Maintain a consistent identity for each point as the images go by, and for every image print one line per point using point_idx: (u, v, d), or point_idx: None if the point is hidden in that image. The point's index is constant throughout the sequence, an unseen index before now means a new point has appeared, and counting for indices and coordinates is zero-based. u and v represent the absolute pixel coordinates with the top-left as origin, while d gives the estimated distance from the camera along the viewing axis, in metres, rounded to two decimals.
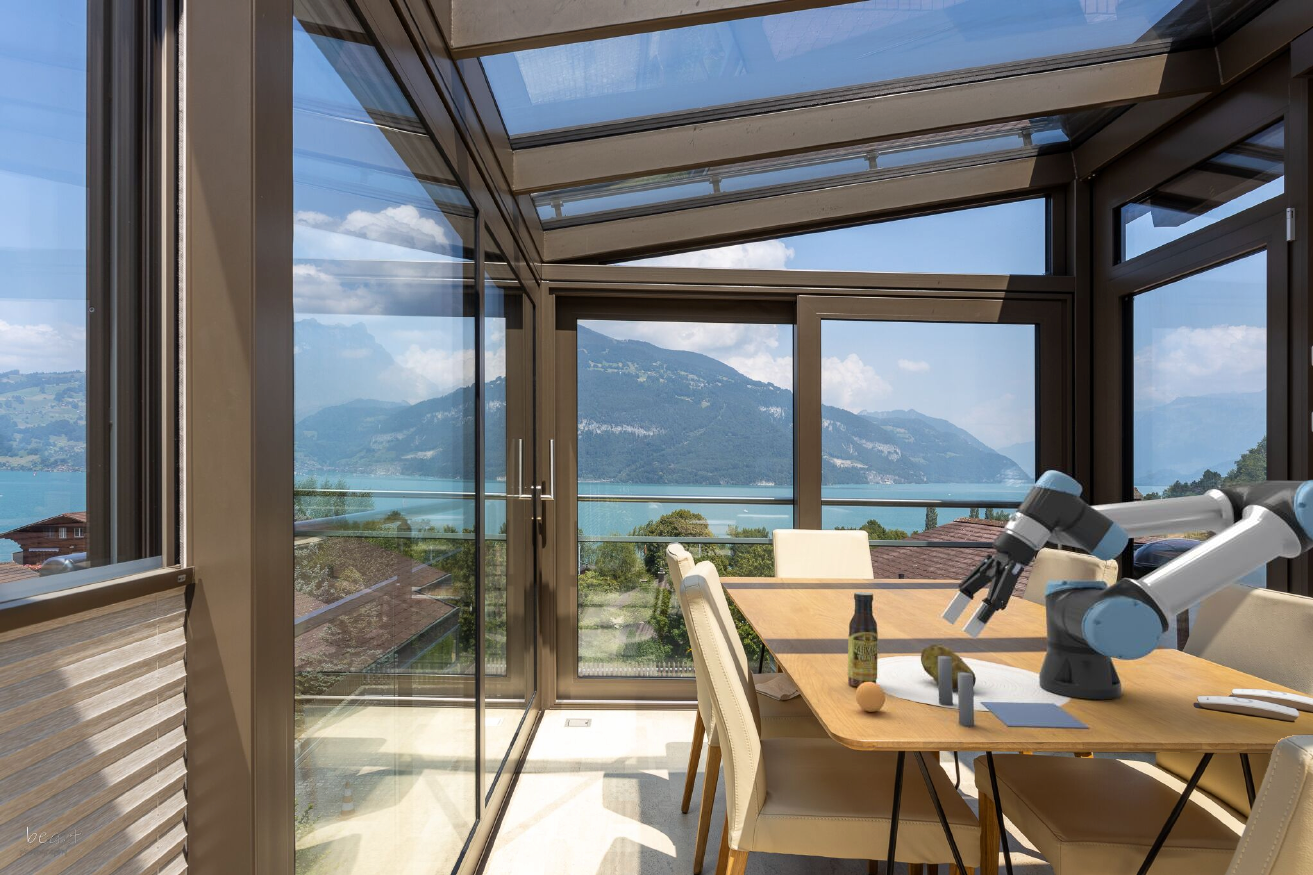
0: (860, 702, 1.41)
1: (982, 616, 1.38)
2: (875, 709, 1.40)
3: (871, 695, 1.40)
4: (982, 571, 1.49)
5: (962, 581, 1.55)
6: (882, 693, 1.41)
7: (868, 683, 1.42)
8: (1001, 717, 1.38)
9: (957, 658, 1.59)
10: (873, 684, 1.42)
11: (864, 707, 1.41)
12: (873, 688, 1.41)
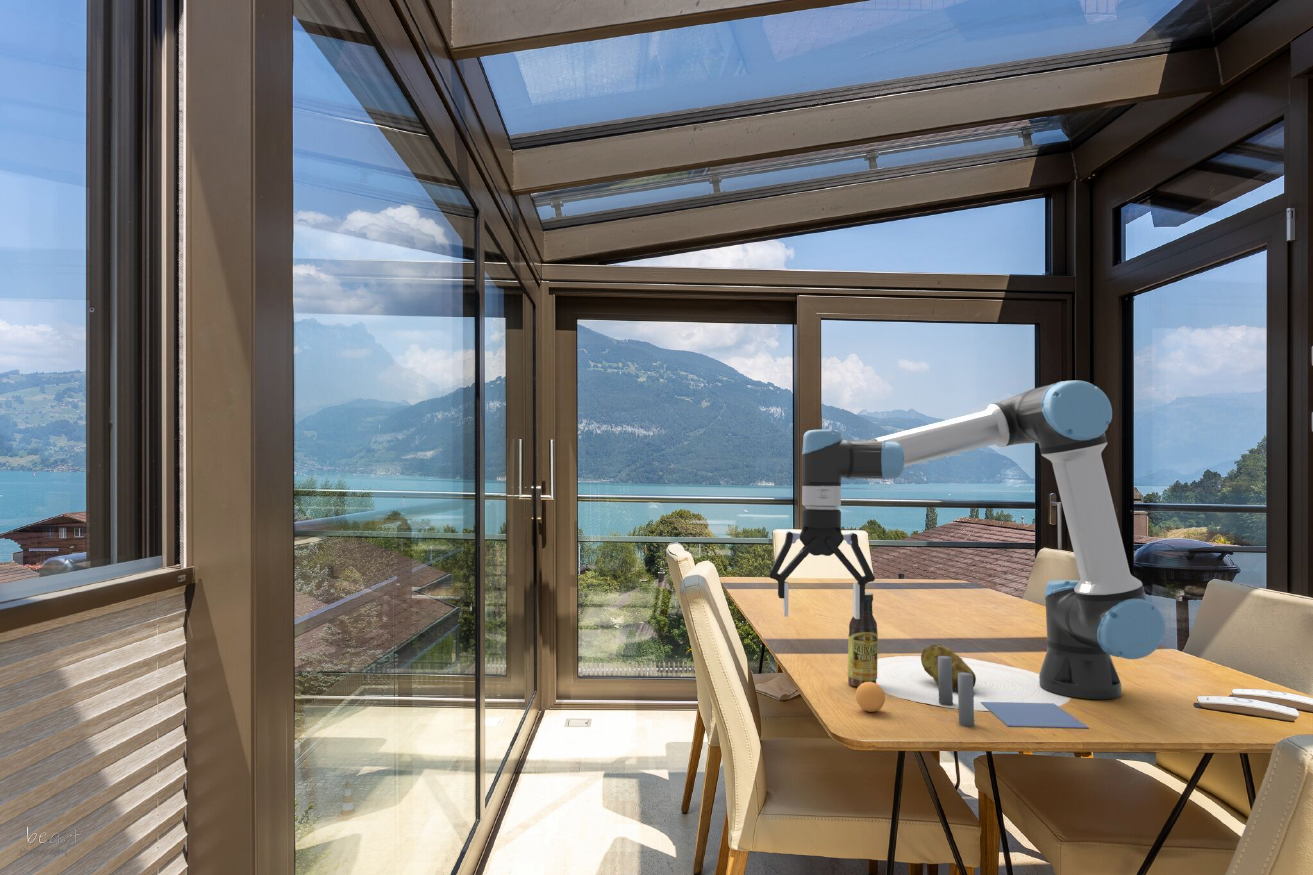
0: (860, 702, 1.41)
1: (864, 596, 1.43)
2: (875, 709, 1.40)
3: (871, 695, 1.40)
4: None
5: (773, 571, 1.44)
6: (882, 693, 1.41)
7: (868, 683, 1.42)
8: (1001, 717, 1.38)
9: (957, 658, 1.59)
10: (873, 684, 1.42)
11: (864, 707, 1.41)
12: (873, 688, 1.41)
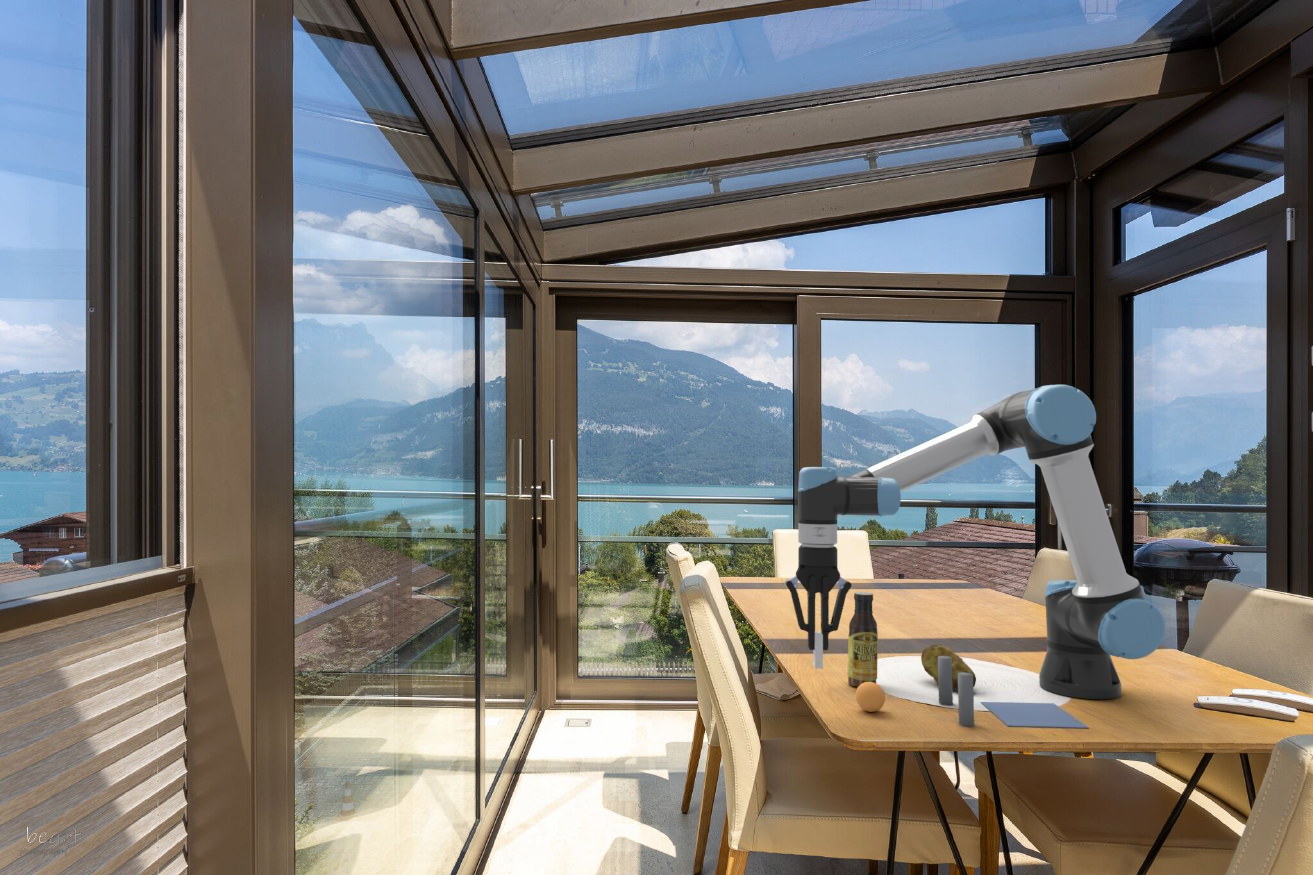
0: (860, 702, 1.41)
1: None
2: (875, 709, 1.40)
3: (871, 695, 1.40)
4: None
5: (800, 622, 1.43)
6: (882, 693, 1.41)
7: (868, 683, 1.42)
8: (1001, 717, 1.38)
9: (957, 658, 1.59)
10: (873, 684, 1.42)
11: (864, 707, 1.41)
12: (873, 688, 1.41)
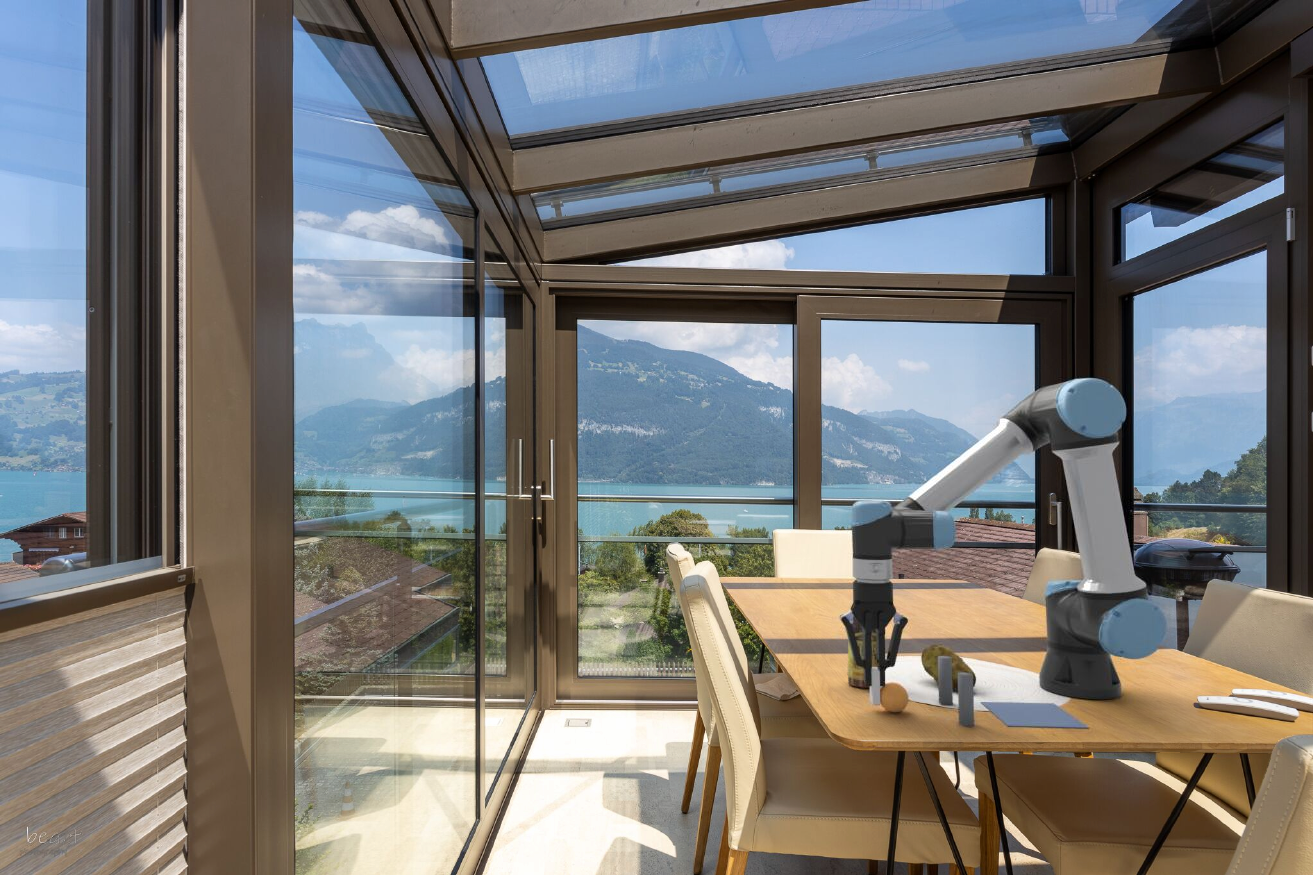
0: (886, 691, 1.41)
1: (884, 681, 1.42)
2: (888, 707, 1.40)
3: (900, 697, 1.39)
4: (871, 629, 1.42)
5: (856, 659, 1.42)
6: None
7: (905, 690, 1.41)
8: (1001, 717, 1.38)
9: (957, 658, 1.59)
10: (907, 695, 1.41)
11: (884, 696, 1.40)
12: (906, 696, 1.40)
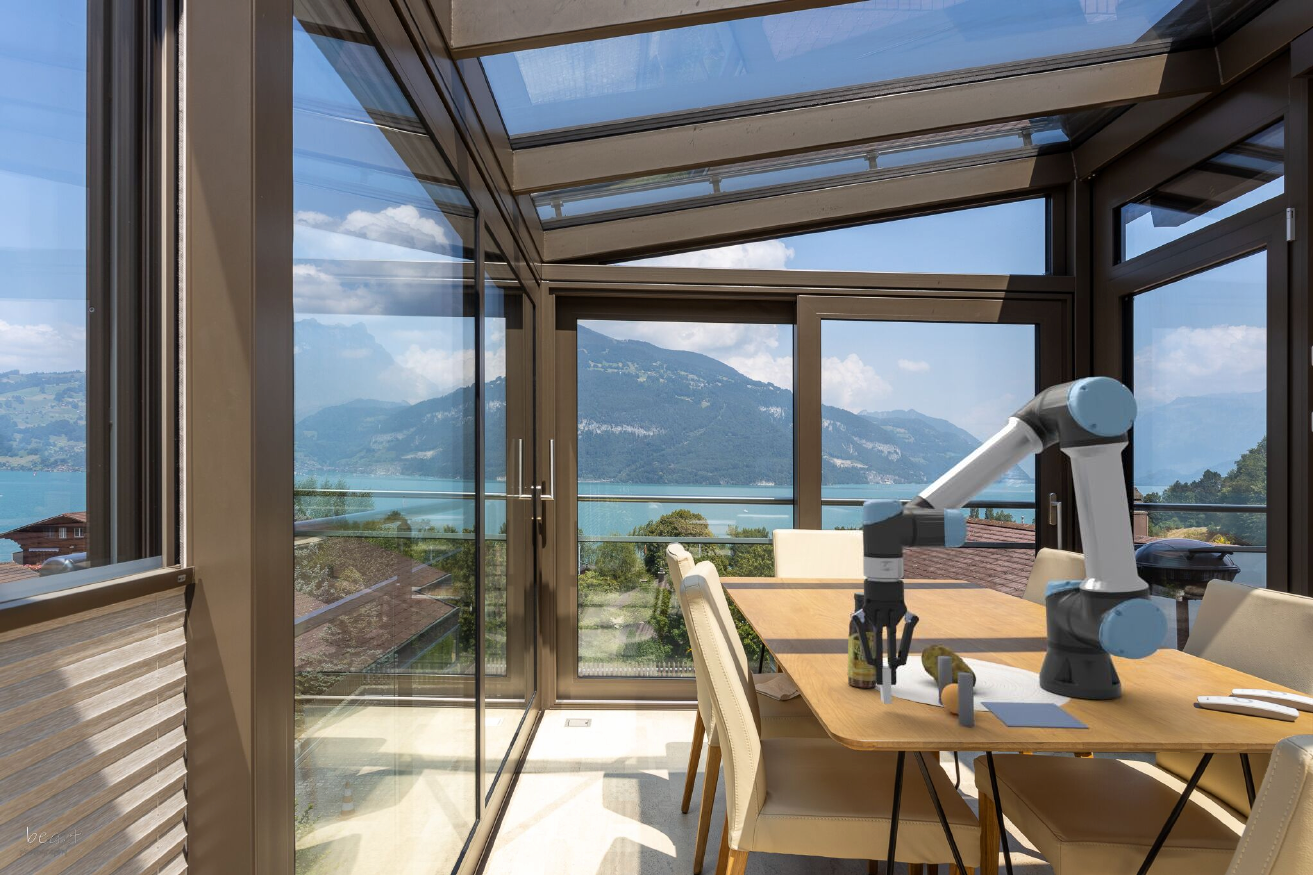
0: (955, 712, 1.39)
1: (896, 680, 1.42)
2: None
3: (955, 700, 1.38)
4: (882, 628, 1.41)
5: (867, 657, 1.42)
6: None
7: (944, 692, 1.41)
8: (1001, 717, 1.38)
9: (957, 658, 1.59)
10: (948, 688, 1.40)
11: None
12: (951, 693, 1.39)
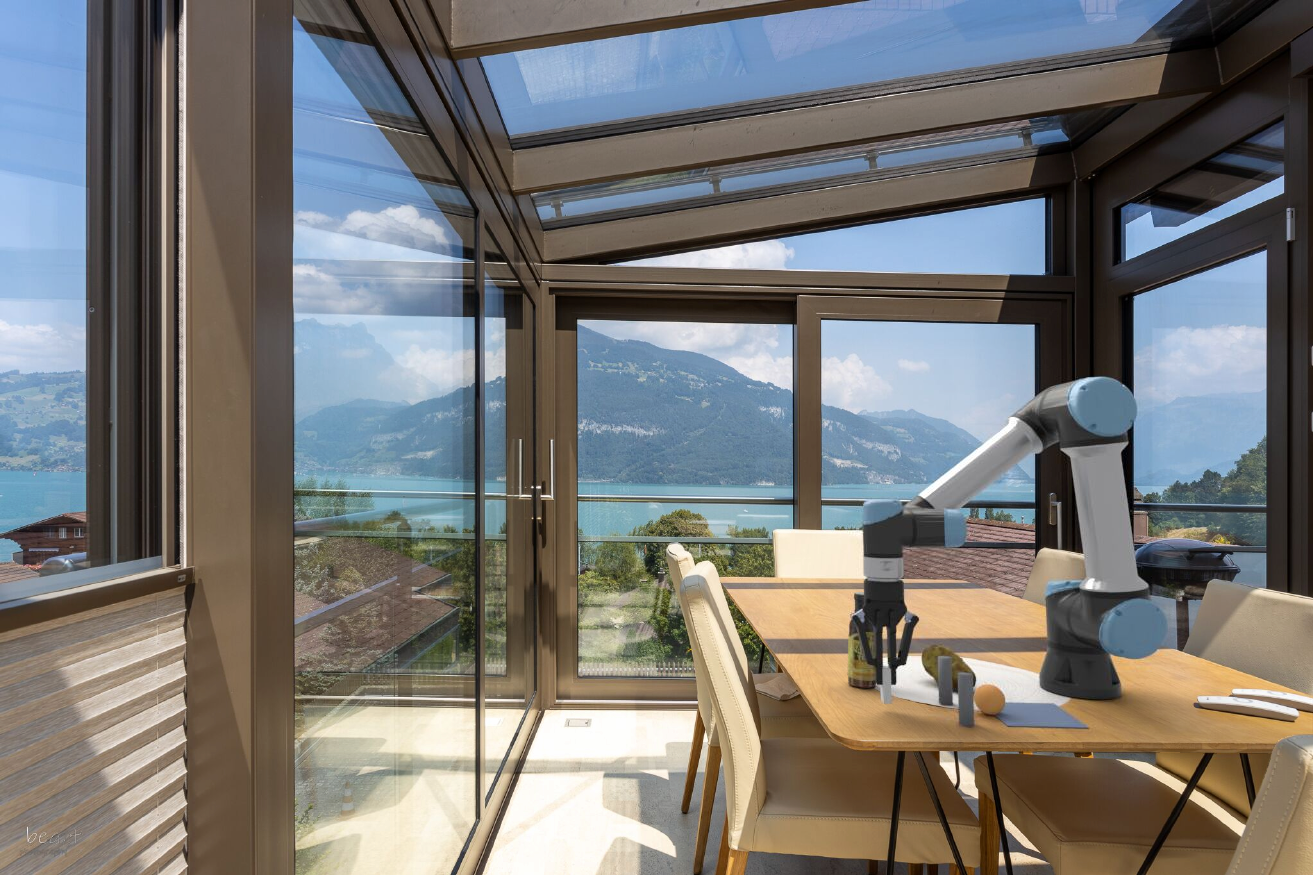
0: (986, 691, 1.39)
1: (896, 680, 1.42)
2: (984, 707, 1.38)
3: (999, 700, 1.38)
4: (882, 628, 1.41)
5: (867, 657, 1.42)
6: (1000, 711, 1.39)
7: None
8: (1001, 717, 1.38)
9: (958, 658, 1.59)
10: None
11: (982, 696, 1.39)
12: (1004, 701, 1.38)
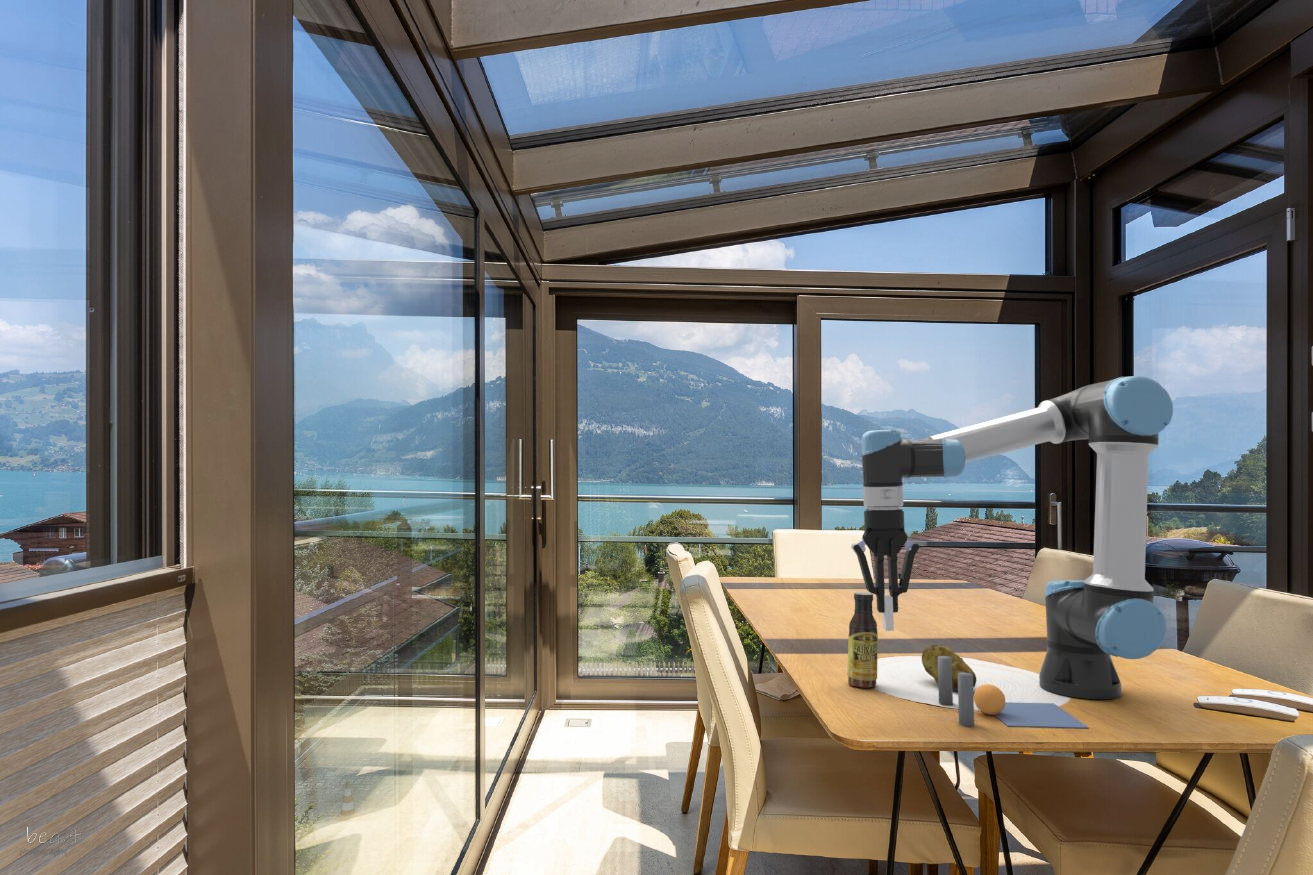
0: (986, 691, 1.39)
1: (897, 607, 1.43)
2: (984, 707, 1.38)
3: (999, 700, 1.38)
4: (883, 556, 1.43)
5: (869, 586, 1.43)
6: (1000, 711, 1.39)
7: None
8: (1001, 717, 1.38)
9: (958, 658, 1.58)
10: None
11: (982, 696, 1.39)
12: (1004, 701, 1.38)
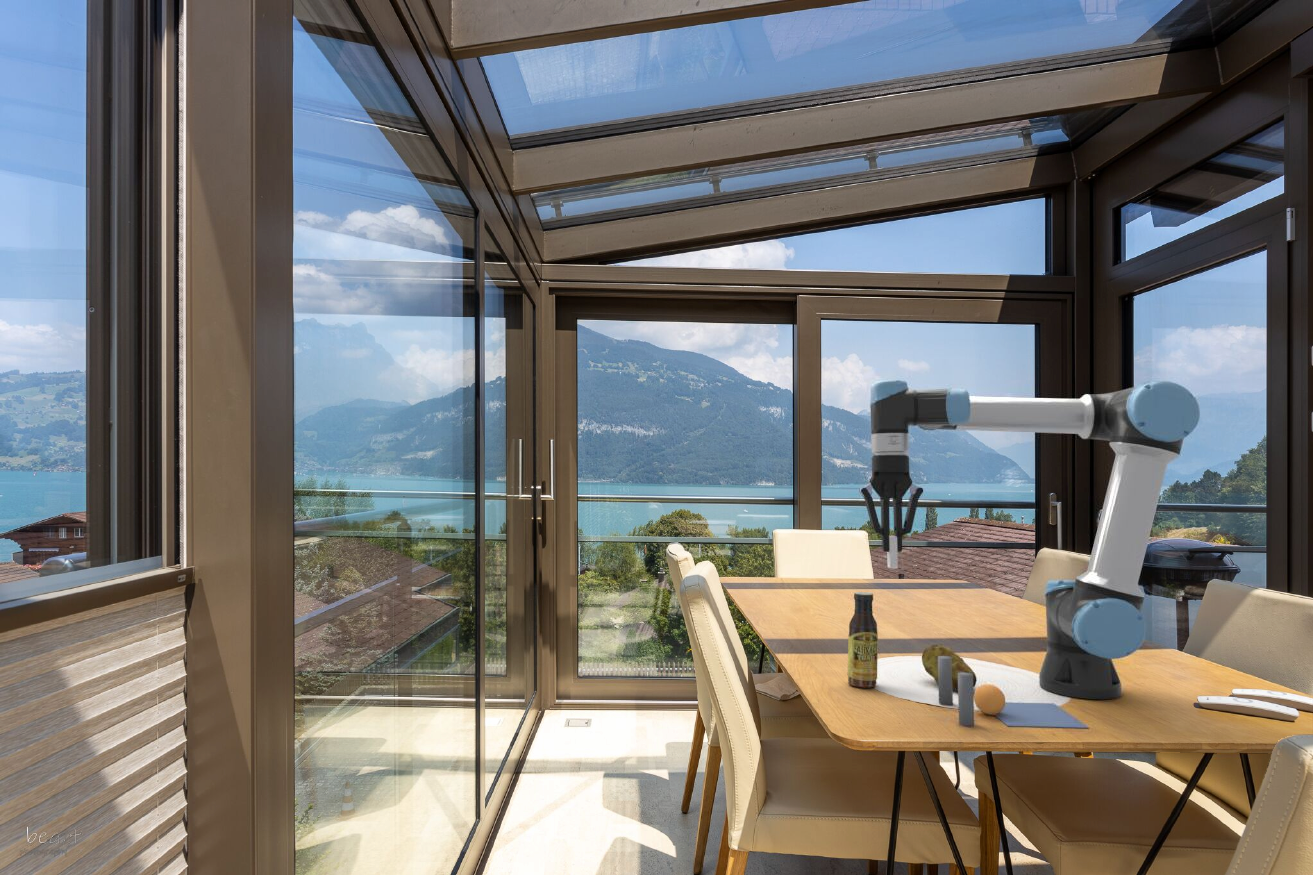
0: (986, 691, 1.39)
1: (901, 547, 1.52)
2: (984, 707, 1.38)
3: (999, 700, 1.38)
4: None
5: (875, 526, 1.52)
6: (1000, 711, 1.39)
7: None
8: (1001, 717, 1.38)
9: (958, 658, 1.58)
10: None
11: (982, 696, 1.39)
12: (1004, 701, 1.38)
